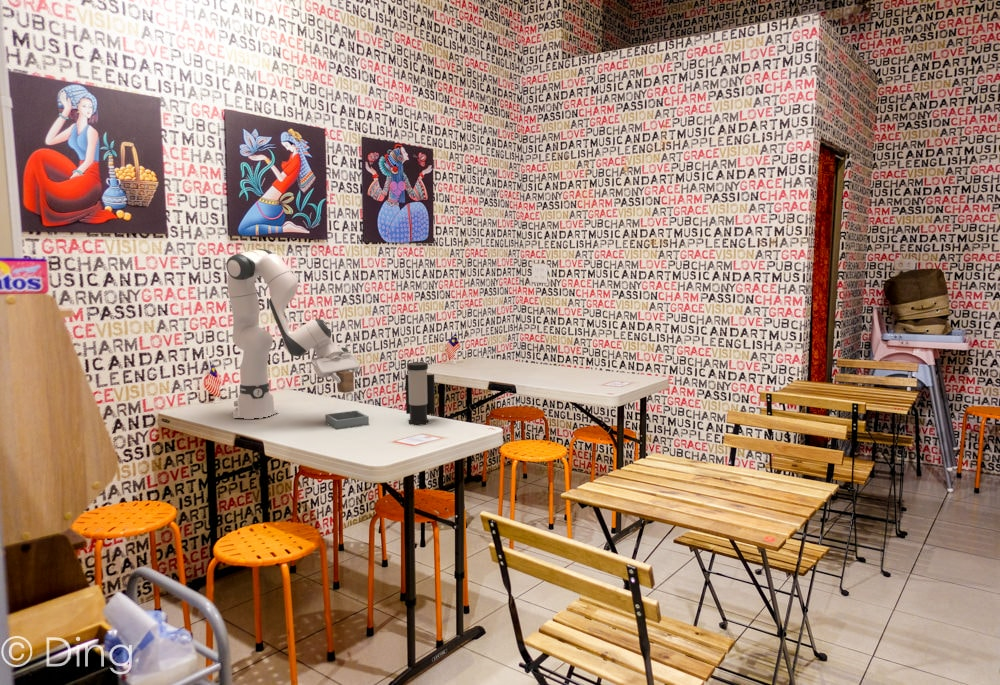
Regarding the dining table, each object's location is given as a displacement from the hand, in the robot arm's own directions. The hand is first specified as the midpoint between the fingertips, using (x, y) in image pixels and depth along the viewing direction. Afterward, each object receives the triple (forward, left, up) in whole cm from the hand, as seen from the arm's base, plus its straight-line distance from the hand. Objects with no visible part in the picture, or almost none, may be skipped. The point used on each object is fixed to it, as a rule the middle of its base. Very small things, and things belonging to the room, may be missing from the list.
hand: (346, 381), depth 280 cm
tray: (-1, 0, -18) cm, 18 cm away
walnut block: (0, 0, -4) cm, 4 cm away
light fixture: (+13, +26, -18) cm, 34 cm away
